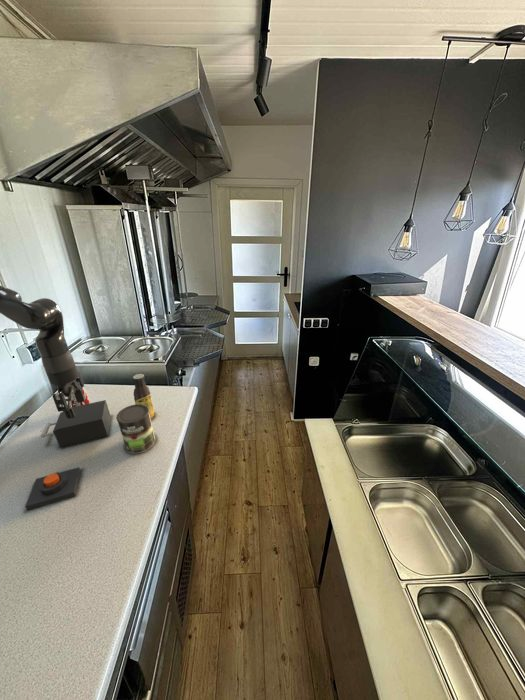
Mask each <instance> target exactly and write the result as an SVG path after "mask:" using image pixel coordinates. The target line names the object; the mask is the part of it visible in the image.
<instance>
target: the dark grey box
mask: <svg viewBox="0 0 525 700" xmlns="http://www.w3.org/2000/svg"><path fill="white" fill-rule="evenodd" d="M72 408H73V411H74V413H75V417H74V418H70V419H68V418H67V417H66V415H65V412H64V411H61V412H62V415H61V417H60V420H59V422H58V425H57V427H56V432H57V434H58V436H59V439H60V441H61V443H62V445H63V446H62V448H66V447H71V446H75V445H79V444H84V443H87V442H91V441H95V440H99V439H102V438H107V437H109V432H110V425H111V419H112V416H111V413H110V410H109V405H108V404H107V400H106V399H104V400H99V401H95V402H90V403H89V404H85V405H80V406H75V407H72Z"/></svg>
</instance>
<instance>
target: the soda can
mask: <svg viewBox="0 0 525 700" xmlns="http://www.w3.org/2000/svg"><path fill="white" fill-rule="evenodd" d="M82 389H83V391H82V393H83V396H84V398H85V401H84V402H77V400H76V397H75V395H74V394H73V401H72V407H75V406H80V405H85V404H89V403H91V401H90V398H89V395H88V392H87V389H86V388H84V387H82ZM74 393H75V392H74ZM68 398H69V397H67V399H68Z"/></svg>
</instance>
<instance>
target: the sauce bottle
mask: <svg viewBox="0 0 525 700" xmlns="http://www.w3.org/2000/svg"><path fill="white" fill-rule="evenodd" d="M132 381H133V383H134V389H133V400H134V405H136V404H142V405H145V406H147V407H148V409H149V415H150V419H151V421H152V420H153V419H154V418H155V409H154V404H153V399H152V394H151V391H150V388H149V386H147V384H146V381H145V375H144V374H143V373H137V374H134V375H133V376H132Z"/></svg>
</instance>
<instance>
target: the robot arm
mask: <svg viewBox="0 0 525 700" xmlns="http://www.w3.org/2000/svg"><path fill="white" fill-rule="evenodd" d="M0 314H1V315H2V316H4V317H5V318H7V319H9V320H10V321H12V322H13V323H15V324H17V325H19V326H21V327H22V328H25V329H28V330H34V331H35V330H36V331H37V330H39V332H38V334H37V336H36V337H35V340H34V343H35V346H36V349H37V350H38V354H39V355H40V358H41V363H42V366H43V368H44V371H45V373H46V375H47V378H48V380H49V384H51V385H53V386H56V388H57V392H56V393H52V399H53V401H54V405H55V407H56V410H57V412H58V413H59V412H60V413H61V412H63V411H64V412H65V415H66V417H67V418H68V419H70V418H74V417H75V413H74V411H73V408H72V401H73V394H74V395H75V397H76V400H77V402H84V401H85V398H84V396H83V393H82V391H83V389H82V387H83V388H84V387H85V384H84V380H83V378H82V376H81V373H80V371H78V368H77V366H76V363H75V360H74V357H73V354H72V352H71V351H70V349H69V345H68V343H67V340H66V337H65V326H64V316H63V312H62V309H61V308H60V306H59V305H58V303H56V301H54V300H52V299H51V298H47V297H41V298H38V299H35V300H34V301H31V302H29V303H28V302H25V301H23V299H22V296H21V294H20V293H19V292H17V291H16V290H14V289H11V288H8V287H5V286H3V285H0ZM74 392H75V393H74ZM68 397H69V398H68Z"/></svg>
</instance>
